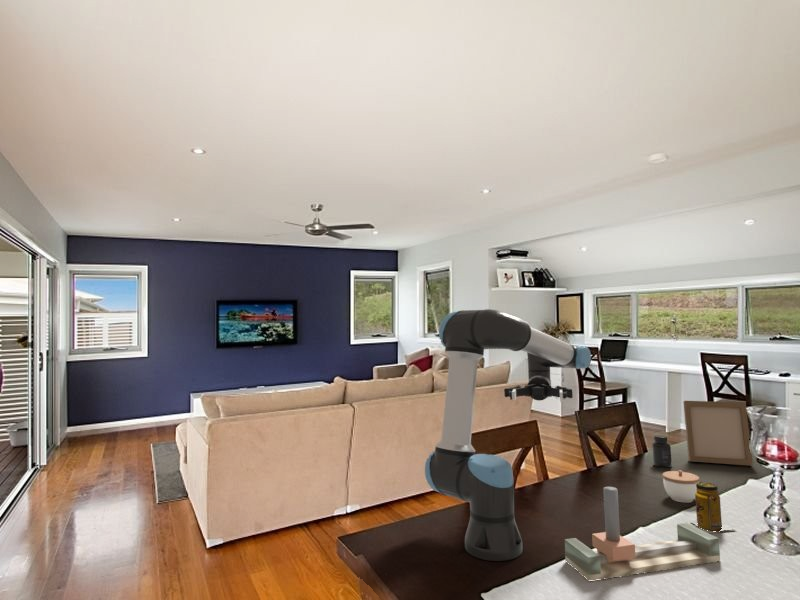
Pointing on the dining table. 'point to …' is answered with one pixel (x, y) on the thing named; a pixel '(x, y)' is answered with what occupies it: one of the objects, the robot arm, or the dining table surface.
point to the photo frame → (717, 432)
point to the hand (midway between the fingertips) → (537, 396)
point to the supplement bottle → (661, 452)
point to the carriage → (612, 531)
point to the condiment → (708, 507)
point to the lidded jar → (680, 485)
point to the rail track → (649, 563)
